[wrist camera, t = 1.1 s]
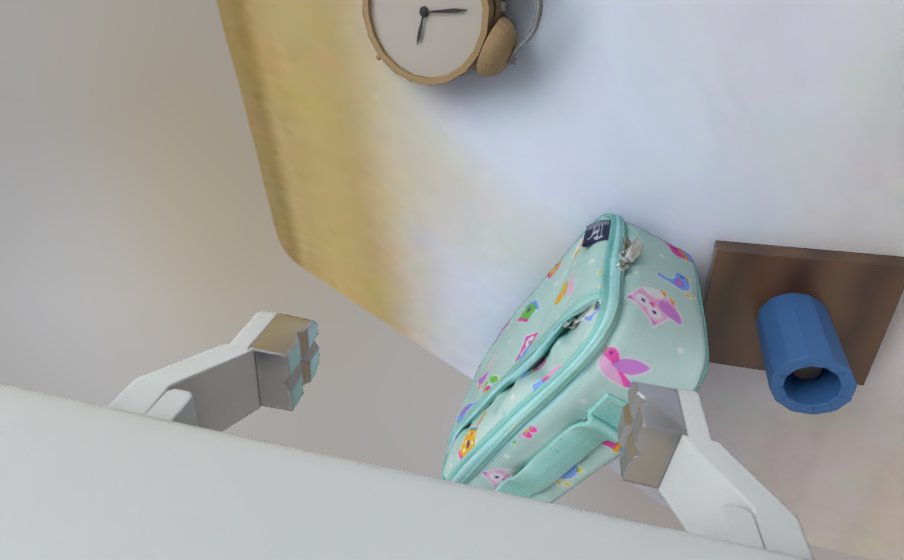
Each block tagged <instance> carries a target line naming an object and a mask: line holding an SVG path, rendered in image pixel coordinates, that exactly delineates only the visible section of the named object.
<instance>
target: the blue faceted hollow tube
mask: <svg viewBox="0 0 904 560" xmlns="http://www.w3.org/2000/svg"><path fill="white" fill-rule="evenodd" d="M756 326H757V331H758V335H759V340H760V345H761V350H762V355H763V359H764V364H765V369H766V374H767V379H768V383H769V388H770V390H771V392H772V394H773V396H774V398H775V400H776V401H777V402H778V403H780V404H782V405H783V406H785V407H786V408H788V409H789V410H791V411H795V412H801V413H807V414H819V413H825V412H831V411H835V410H837V409H839V408H840V407H842V406H843V405H845V404H846V403H848V402H849V401H851V399H852V396H853V394H854V391H855V389H856V386H857V383H856V381H855V378H854V376H853V373H852V371H851V368H850V366H849V363H848V361H847V358H846V356H845V353H844V351H843V349H842V346H841V344H840V341H839V339H838V336H837V334H836V331H835V329H834V326H833V324H832V321H831V319H830V316H829V314H828V312H827V309H826V307H825V304H823V303H822V302H820V301H819V300H817V299H816V298H814V297H812V296H811V295H807V294H798V293H787V294H783V295H780V296H776V297H773V298H771V299H770V300H769V301H767V302H766V303H765V304H764V305H763V306H762V307H761V308H760V309H759V311H758V315H757V319H756ZM810 366H814V367H821V368H822V371H821V373H820V375H819V376H817V377H816V378H813V379H800V378H798V377H796V376H795V375H794V374H793V372H794V371H795V370H796V369H801V368H805V367H810Z"/></svg>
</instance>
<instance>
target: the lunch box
mask: <svg viewBox="0 0 904 560" xmlns="http://www.w3.org/2000/svg"><path fill="white" fill-rule="evenodd" d="M708 365H709V346H708V337H707V328H706V321H705V315H704V309H703V302H702V296H701V289H700V284H699V279H698V274H697V270H696V267H695V264H694V262H693V260H692V259H691V257H690V255H689V254H688V253H686V252H684V251H682V250H681V249H679V248H676V247H674V246H672V245H670V244H669V243H667V242H665V241H663V240H661V239H659V238H657V237H655V236H653V235H651V234H649V233H647V232H645V231H643V230H641V229H639V228H637V227H635V226H634V225H633V224H630V223H626V222H624V220H623V219H622V217H621V216H619V215H615V214H605V215H603V216H601V217H600V218H598V219H597V220H596V221H595V222H594V223H592V224H590V225H589V226H587V229H586V231H585V232H584V233H583V234H582V235H581V237H580V238H579V239H578V240H577V241H576V242H575V243H574V244H573V246H572V247H571V248H570V249H569V250H568V251H567V253H566V254H565V255H564V256H563V258H562V259H561V260H560V262H559V263H558V264H557V265H556V266H555V267H554V268H553V269H552V270H551V271H550V273H549V274H548V275H547V276H546V277H545V279H544V280H543V281H542V283H541V284H540V285H539V286H538V287H537V289H536V290H535V291H534V292H533V293H532V294H531V295H530V296H529V297H528V298H527V299H526V300H525V301H524V302H523V304H522V305H521V306H520V307H519V308H518V310H517V311H516V312H515V314H514V315H513V316H512V317H511V319H510V320H509V321H508V323H507V324H506V326H505V327H504V328H503V330H502V331H501V333H500V334H499V336H498V338H497V340H496V341H495V342H494V344H493V345H492V346H491V347H490V349H489V350H488V352H487V354H486V355H485V357H484V359H483V360H482V362H481V364H480V366H479V368H478V370H477V372H476V374H475V377H474V379H473V381H472V384H471V386H470V388H469V391H468V393H467V395H466V397H465V399H464V401H463V404H462V406H461V408H460V411H459V413H458V416H457V418H456V420H455V423H454V426H453V429H452V432H451V434H450V437H449V440H448V447H447V454H446V457H445V461H444V465H443V470H442V479H443V480H447V481H452V482H457V483H461V484H466V485H471V486H475V487H480V488H485V489H489V490H494V491H498V492H503V493H507V494H512V495H517V496H521V497H526V498H530V499H535V500H540V501H544V502H549V503H553V502H554V501H555V500H557V499H558V498H560V497H561V496H563V495H564V494H565V493H567V492H568V491H569V490H571V489H572V488H573V487H575V486H576V485H577V484H579V483H580V482H582V481H583V480H584V479H586V478H587V477H588V476H590V475H592V474H593V473H594V472H596V471H597V470H599V469H600V468H602V467H603V466H605V465H606V464H608V463H609V462H611V461H612V460H614V459H615V458H617V457H618V456H619V455H621V454H622V451H623V448H622V447H621V446H620V445H619V442H618V426H619V420H620V415H621V412H622V409H623V406H625V405H626V404H628V403H629V399H628V391H629V388H630V386H631V384H632V382H633V381H636V382H642V383H647V384H652V385H658V386H663V387H669V388H674V389H675V388H678V389H684V390H690V391H697V390H698V388H699V386H700V385H701V383H702V381H703V379H704V377H705V375H706V372H707V368H708Z"/></svg>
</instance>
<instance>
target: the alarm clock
mask: <svg viewBox="0 0 904 560" xmlns="http://www.w3.org/2000/svg"><path fill="white" fill-rule="evenodd" d="M542 8H543V0H536V12H535V18H534V22H533V26H532V28H531V30H530V32H529V34H528V36H527V37H526V38H525V39H524V41H523V42H521V43H520V44H519V45H518V46H517V47H516V45H517V32H516V28H515V26H514V24H513V23H512V22H511V21H510V20H509V19H508V18H506V17H502V18H501V12H505V11H506V2H505V1H503V2H501V0H363V17H364V21H365V25H366V29H367V32H368V36H369V39H370V41H371V42H372V44H373V46H374V48H375V50H376V51H377V53H378V55H377V56H376V58H377V59H378V60H380V59H382V60H383V61H384V62H385V63H386V64H387V65H388V66H389V67H390V68H391V69H392V71H393V72H395V73H396V74H398V75H400V76H402V77H403V78H405V79H407V80H409V81H410V82H414V83H420V84H425V85H435V84H440V83H446V82H449V81H451V80H453V79H454V78H456V77H458V76H461V75H463V74H464V73H466V72H468V71H469V70H471V69H473V68H474V67H476V72H477V73H478V74H480V75H482V76H493V75H496V74H498V73H500V72H501V71H502V70H503V69H504V68H505V67H506V66H507V65H508V64H510V63H511V64H513V65H515V64H516V62H517V59H516V58H515V57H514V56H515V55H516V53H517V51H518V50H519V48H521V47H522V46H523V45H524V44H526V43H527V42H528V41H529V40H530V39H531V38H532V36H533V35H534V34H535V32H536V30H537V28H538V26H539V23H540V20H541V16H542Z"/></svg>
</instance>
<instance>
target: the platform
mask: <svg viewBox="0 0 904 560" xmlns="http://www.w3.org/2000/svg"><path fill="white" fill-rule="evenodd" d="M903 290H904V257H897V256H886V255H875V254H863V253H852V252H841V251H829V250H818V249H807V248H795V247H784V246H773V245H761V244H750V243H738V242H727V241H716V242H715V246H714V251H713V256H712V261H711V266H710V271H709V276H708V280H707V285H706V290H705V295H704V300H703V309H704V315H705V321H706V328H707V337H708V346H709V362H712V363H719V364H725V365H732V366H738V367H745V368H752V369H758V370H765V371H766V369H765V364H764V359H763V355H762V350H761V345H760V340H759V335H758V331H757V326H756V319H757V315H758V311H759V309H760V308H761V307H762V306H763V305H764V304H765V303H766V302H767V301H769V300H770V299H771V298H773V297H776V296H780V295H783V294H787V293H798V294H807V295H811V296H812V297H814V298H816V299H817V300H819V301H820V302H822V303H823V304H825V307H826V309H827V312H828V314H829V316H830V319H831V321H832V324H833V326H834V329H835V331H836V334H837V336H838V339H839V341H840V344H841V346H842V349H843V351H844V353H845V356H846V358H847V361H848V363H849V366H850V368H851V371H852V373H853V376H854V378H855V381H856V383H857V384H858V385H864V383H865V380H866V378H867V375H868V373H869V371H870V368H871V366H872V364H873V361H874V359H875V356H876V354H877V352H878V349H879V347H880V345H881V342H882V340H883V337H884V335H885V333H886V330H887V328H888V325H889V323H890V321H891V318H892V316H893V314H894V311H895V309H896V306H897V304H898V302H899V299H900V297H901V295H902V292H903ZM821 371H822V368H821V367H814V366H810V367H805V368H801V369H796V370H795V371H794V372H793V374H794V375H795V376H796V377H798V378H800V379H813V378H816V377H817V376H819V375H820V373H821Z"/></svg>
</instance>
